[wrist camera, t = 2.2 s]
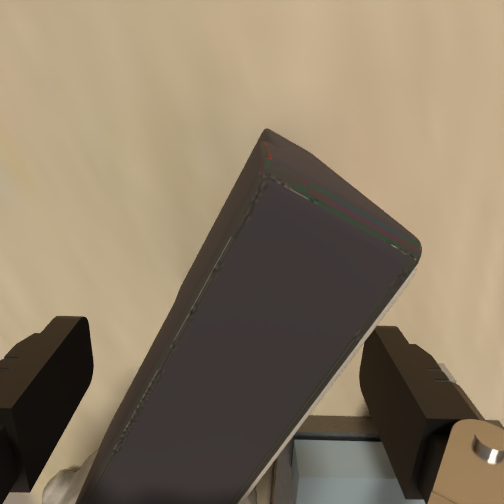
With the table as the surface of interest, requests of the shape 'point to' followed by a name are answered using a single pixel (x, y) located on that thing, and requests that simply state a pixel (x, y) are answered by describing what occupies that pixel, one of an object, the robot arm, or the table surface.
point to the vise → (322, 430)
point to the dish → (70, 484)
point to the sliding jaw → (350, 470)
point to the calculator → (253, 333)
